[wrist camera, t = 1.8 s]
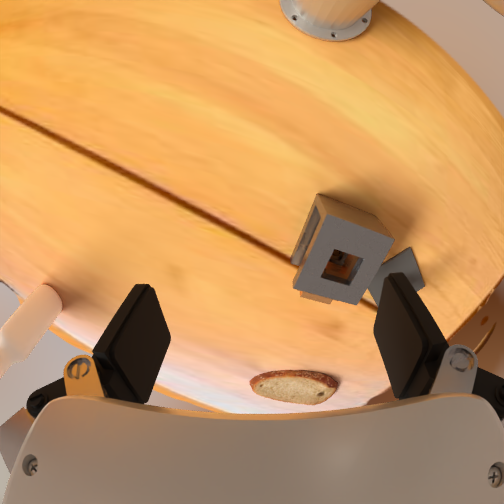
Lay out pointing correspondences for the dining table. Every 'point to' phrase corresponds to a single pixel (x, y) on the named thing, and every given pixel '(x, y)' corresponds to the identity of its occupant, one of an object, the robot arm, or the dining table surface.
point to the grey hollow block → (350, 258)
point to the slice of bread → (294, 386)
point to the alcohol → (28, 326)
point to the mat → (396, 264)
